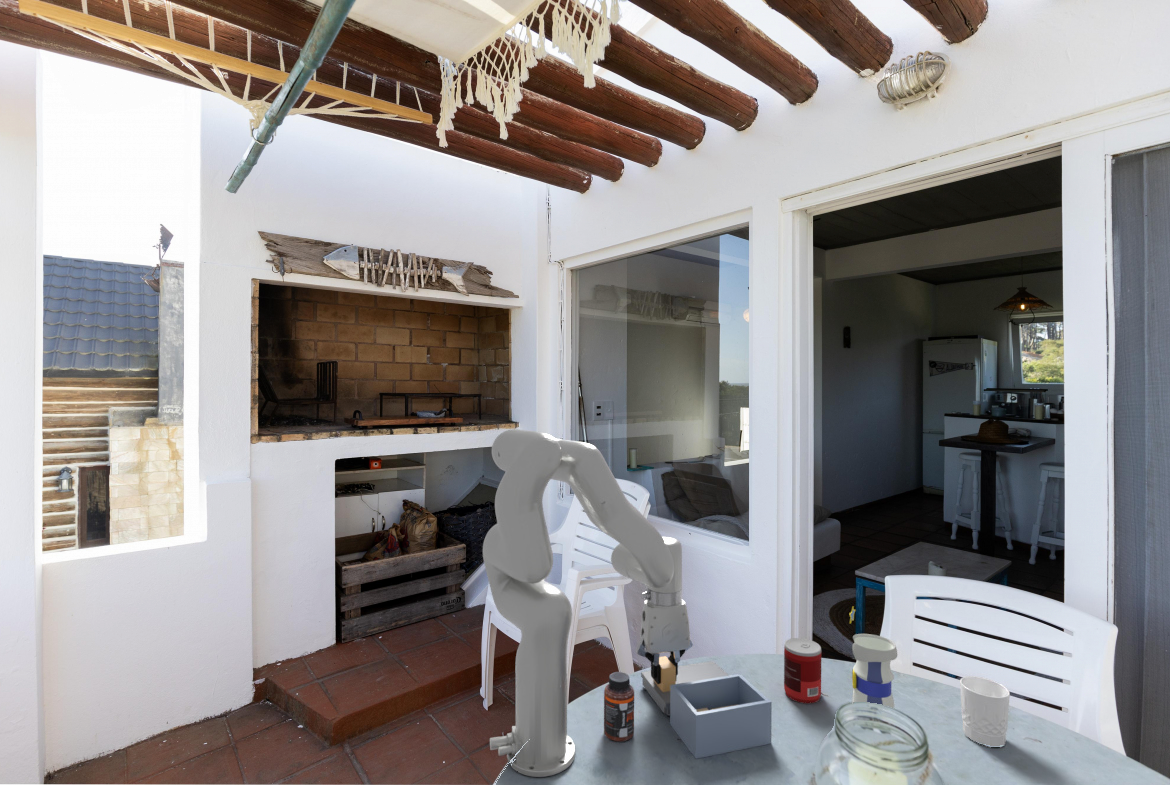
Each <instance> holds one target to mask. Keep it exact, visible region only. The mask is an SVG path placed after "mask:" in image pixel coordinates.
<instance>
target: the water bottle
mask: <svg viewBox="0 0 1170 785" xmlns="http://www.w3.org/2000/svg"><path fill="white" fill-rule="evenodd" d="M854 607H855V606H852V607H851V611H850V612H849V617H850V618H849V624H850V625H851V624H852V621H854V620H855V613H856V611H857V610H856V609H854ZM852 639H853V642H854V643H852V654H853V656H854V659H855V660H856V662H855V663H854V666H853V667H852V668H853V669H852V671H851V673H852V674H851V677H852V678H851V679H852V684H851V685H852V689H853V691H852V703H853V702H870V703H877V704H882V705H885V706H889V707H892V708H894V709H895V698H894V695H893V693H892V681H893V680H894V679H895V675H894V673H893V672H892V669H891V661H892V662H893V661H894V660H896V659H897V657H898V650H897V646H896V644H895V642H894V641H892V640H890V639H889V638H887V637H884V636H880V635H877V634H869V633H858V634H857V633H855V634H854V635H853V636H852Z"/></svg>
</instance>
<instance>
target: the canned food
mask: <svg viewBox="0 0 1170 785" xmlns="http://www.w3.org/2000/svg"><path fill="white" fill-rule="evenodd" d="M783 646H784V647H783V648H784V650H783V652H784V653H783V654H784V656H783V678H784V679H783V687H784V688H783V689H784V692H785V695H786V697H788V698H789V699H790V700H792V701H794V702H797V703H801V704H814V703H817V702H819V701H820V699H821V697H822V696H821V695H822V647H821V645H820V644H819V643H817V642H816V641H814V640H810V639H808V638H803V637H794V638H788V639H786V640H785V641H784V644H783Z"/></svg>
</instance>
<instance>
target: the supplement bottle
mask: <svg viewBox="0 0 1170 785" xmlns="http://www.w3.org/2000/svg"><path fill="white" fill-rule="evenodd" d="M603 731H604V735H605V737H606V738H607V739H610V740H611V741H614V742H626V741H628V740H630V739H632V738H633V736H634V733H635V689H634V687H633V686H632V685H631V684H630V675H629V674H627V673H626V672H623V671H615V672H612V673H611V674H609V678H608V684H606V685H605V687H604V692H603Z"/></svg>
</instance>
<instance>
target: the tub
mask: <svg viewBox="0 0 1170 785" xmlns="http://www.w3.org/2000/svg"><path fill="white" fill-rule="evenodd" d="M772 705H773V704H772V701H771V700H770V699H769V698H768V697H767V696H765V695H764V693H763V692H761V691H760V690H759V689H758V688H757V687H755V685H753V684H752V682H750V681H749V680H748V679H747V678H746V677H744V675H742V674H741V673H735V674H730V675H729V676H723V677H717V678H711V679H705V680H699V681H692V682H686V683H680V684H674V685H670V715H669V717H670V718H669V721H670V722H669V723H670V724H669V725H670V726H671V727H672V729H673V730H674V731H675V732H676V734H677V735H678V737H679V739H681V741H682V742H683V743H684V745H685V746H686V748H687V750H689V752H690V753H691V754H692V756H693V757H694V758H695V760H696V759H697V760H698V759H702V758H706V757H711V756H717V755H721V754H726V753H730V752H737V751H741V750H745V749H747V750H748V749H750V748H756V747H760V746H765V745H771V744H772V709H773V708H772Z"/></svg>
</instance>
